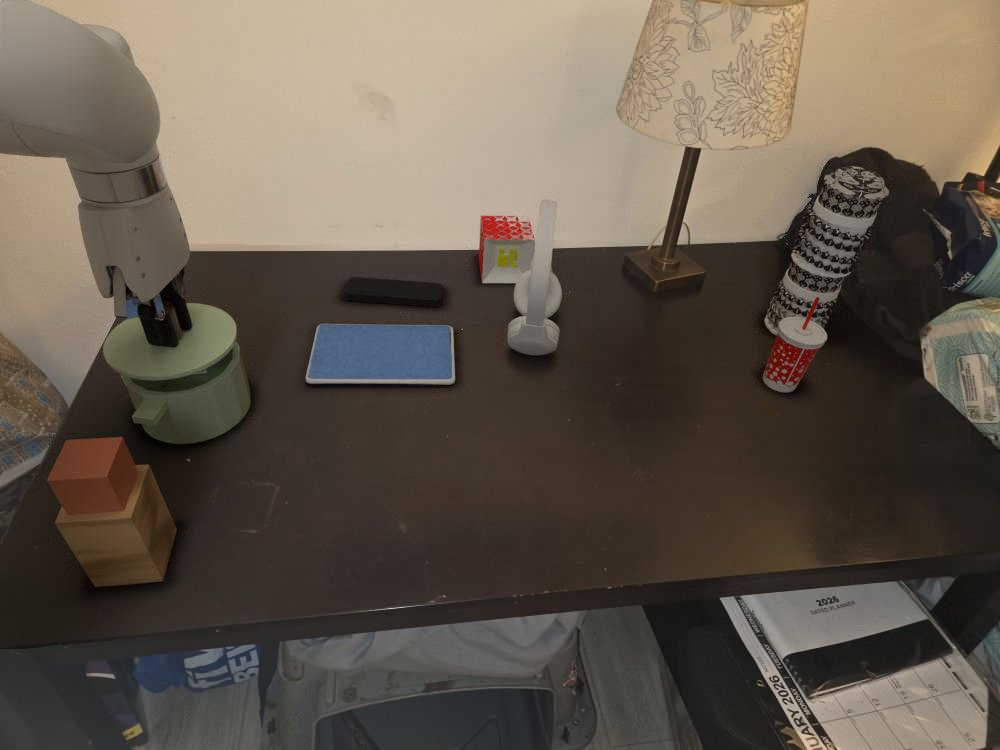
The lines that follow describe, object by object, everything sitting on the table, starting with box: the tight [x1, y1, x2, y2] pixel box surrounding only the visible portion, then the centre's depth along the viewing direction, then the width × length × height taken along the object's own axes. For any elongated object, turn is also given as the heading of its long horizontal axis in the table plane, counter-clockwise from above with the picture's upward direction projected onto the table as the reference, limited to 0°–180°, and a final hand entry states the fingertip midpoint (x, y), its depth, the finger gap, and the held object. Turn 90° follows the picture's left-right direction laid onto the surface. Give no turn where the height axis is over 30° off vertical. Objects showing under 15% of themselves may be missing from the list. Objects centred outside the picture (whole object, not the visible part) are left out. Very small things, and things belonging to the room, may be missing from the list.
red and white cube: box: [478, 215, 536, 284], centre depth 106 cm, size 8×8×8 cm
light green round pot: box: [119, 342, 252, 445], centre depth 77 cm, size 13×18×8 cm
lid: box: [102, 301, 238, 380], centre depth 71 cm, size 14×14×5 cm
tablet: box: [305, 323, 456, 386], centre depth 88 cm, size 19×13×1 cm, turn 94°
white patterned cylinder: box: [763, 165, 890, 336], centre depth 93 cm, size 9×9×25 cm
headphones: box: [506, 199, 563, 356], centre depth 88 cm, size 7×18×20 cm, turn 174°
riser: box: [54, 464, 178, 588], centre depth 60 cm, size 6×6×10 cm
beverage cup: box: [762, 297, 828, 393], centre depth 86 cm, size 6×6×14 cm
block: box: [46, 436, 138, 515], centre depth 55 cm, size 4×4×4 cm
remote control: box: [343, 276, 445, 308], centre depth 100 cm, size 5×2×15 cm
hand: (171, 334), depth 72 cm, fingers closed on lid, 2 cm apart
